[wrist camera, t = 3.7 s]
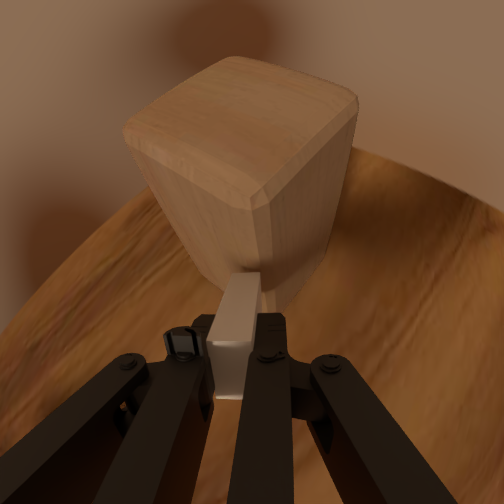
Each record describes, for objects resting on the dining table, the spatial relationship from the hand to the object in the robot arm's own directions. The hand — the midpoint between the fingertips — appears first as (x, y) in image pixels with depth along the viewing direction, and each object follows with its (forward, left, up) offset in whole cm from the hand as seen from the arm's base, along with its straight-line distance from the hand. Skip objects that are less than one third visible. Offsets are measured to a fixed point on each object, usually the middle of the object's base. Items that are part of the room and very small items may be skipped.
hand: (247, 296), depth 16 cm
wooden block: (0, -8, -13) cm, 15 cm away
